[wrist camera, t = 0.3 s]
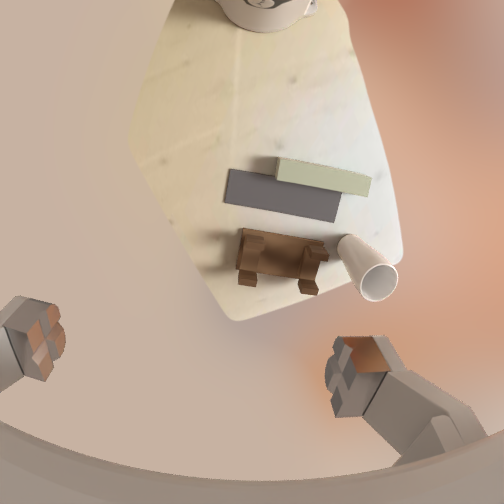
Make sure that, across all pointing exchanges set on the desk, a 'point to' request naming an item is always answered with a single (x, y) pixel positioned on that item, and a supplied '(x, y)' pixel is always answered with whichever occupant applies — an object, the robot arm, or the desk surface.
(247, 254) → the rack
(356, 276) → the drinking glass
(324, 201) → the pad
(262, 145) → the desk surface
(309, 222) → the desk surface
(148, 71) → the desk surface
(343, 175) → the clay strip
